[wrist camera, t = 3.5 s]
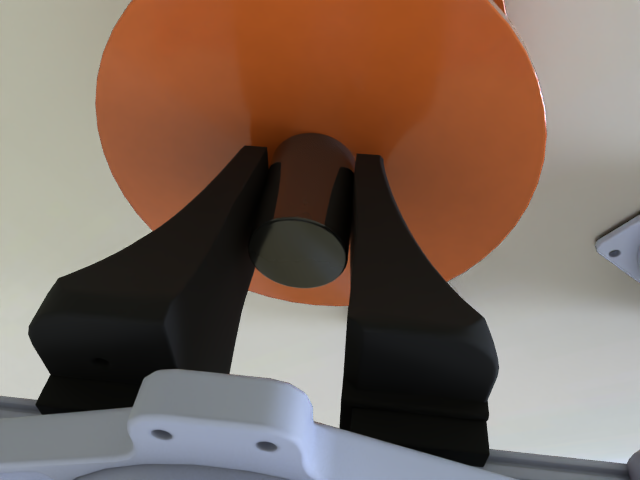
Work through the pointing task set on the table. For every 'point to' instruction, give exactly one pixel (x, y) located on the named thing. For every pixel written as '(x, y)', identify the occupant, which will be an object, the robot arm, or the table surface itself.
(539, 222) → the table surface
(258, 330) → the table surface
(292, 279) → the pan lid
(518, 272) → the table surface
